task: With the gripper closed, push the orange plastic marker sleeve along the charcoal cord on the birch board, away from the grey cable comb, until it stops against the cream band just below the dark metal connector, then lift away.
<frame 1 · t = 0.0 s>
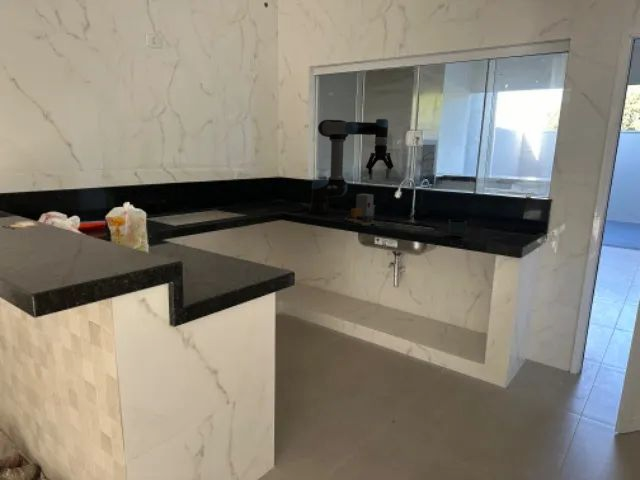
hand: (379, 179, 283), 28 cm above the countertop, tool pointing down, fingers open, 13 cm apart
supplement box: (364, 216, 315), on the countertop
flower pot: (456, 236, 256), on the countertop
cord board: (361, 222, 292), on the countertop
sleeve: (356, 213, 295), point 5 cm above the countertop, slide at -5.5 cm
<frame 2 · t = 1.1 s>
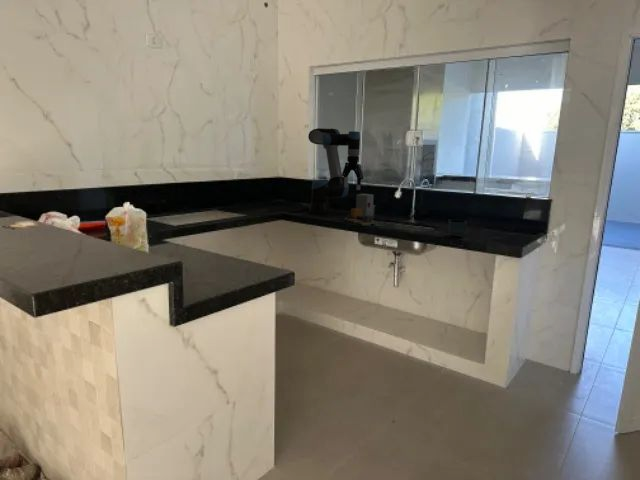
hand: (351, 188, 297), 20 cm above the countertop, tool pointing down, fingers open, 13 cm apart
nothing on the countertop moved.
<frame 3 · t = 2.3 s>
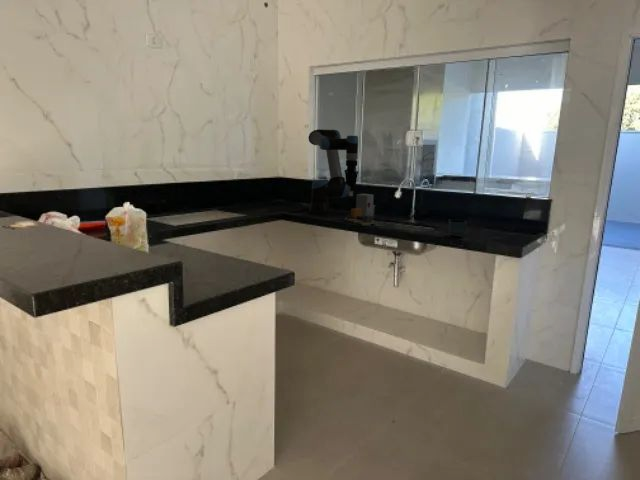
hand: (350, 195, 298), 15 cm above the countertop, tool pointing down, fingers closed
nothing on the countertop moved.
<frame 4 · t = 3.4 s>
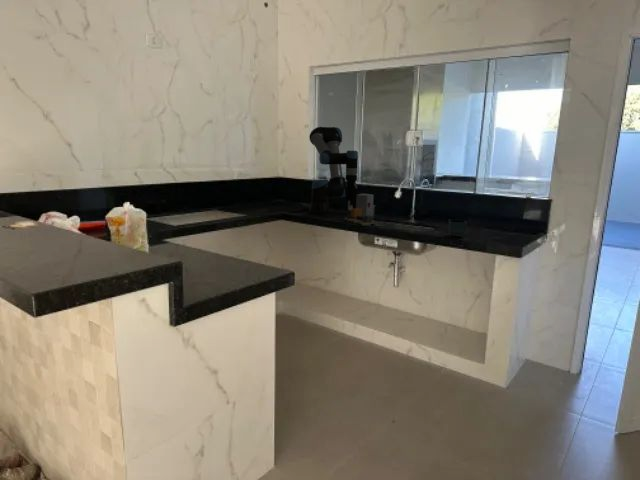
hand: (350, 210, 301), 6 cm above the countertop, tool pointing down, fingers closed
nothing on the countertop moved.
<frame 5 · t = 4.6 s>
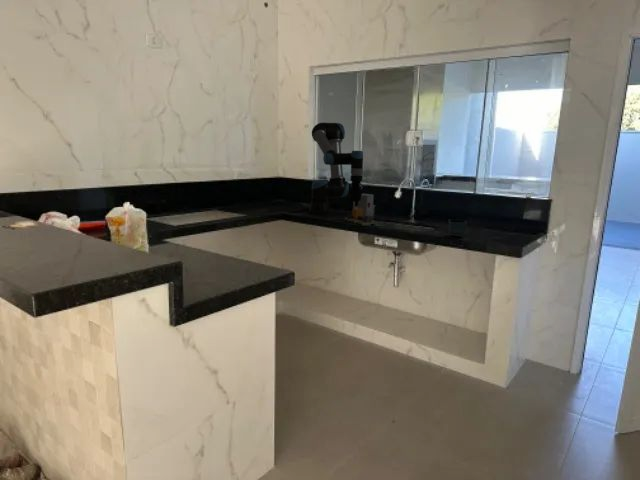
hand: (355, 211, 296), 6 cm above the countertop, tool pointing down, fingers closed
sleeve: (357, 213, 294), point 5 cm above the countertop, slide at -4.1 cm, touching gripper
everything else where it was.
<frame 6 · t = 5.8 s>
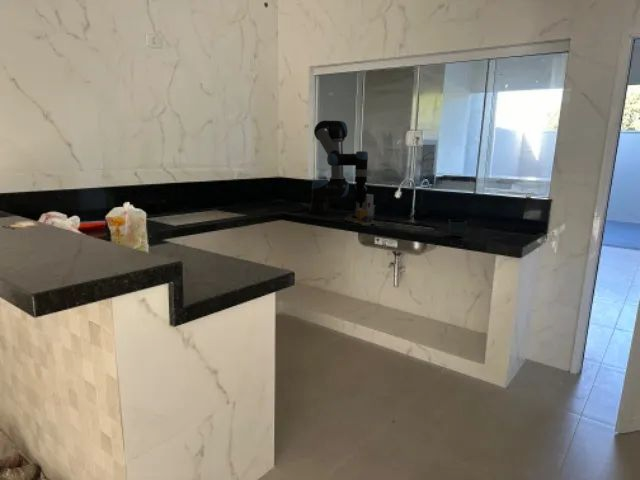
hand: (359, 212, 292), 6 cm above the countertop, tool pointing down, fingers closed
sleeve: (361, 214, 290), point 5 cm above the countertop, slide at 0.5 cm, touching gripper
everything else where it was.
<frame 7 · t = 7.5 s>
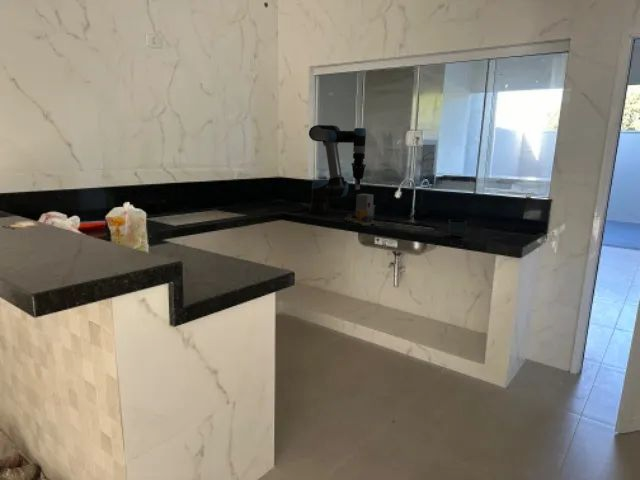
hand: (357, 189, 295), 20 cm above the countertop, tool pointing down, fingers closed
sleeve: (361, 214, 290), point 5 cm above the countertop, slide at 0.5 cm
everything else where it was.
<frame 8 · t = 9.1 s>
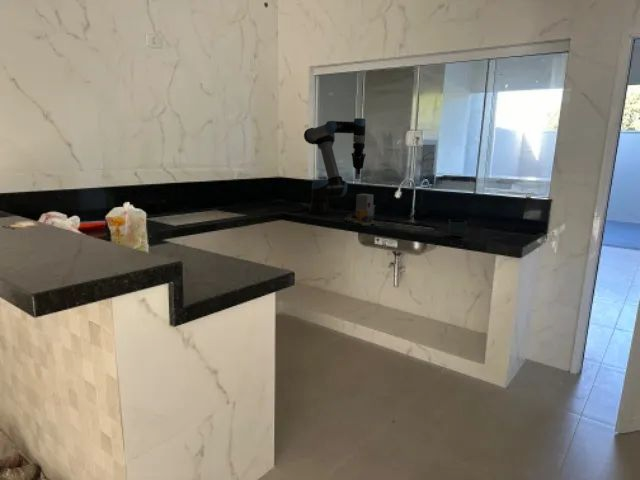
hand: (357, 178, 300), 26 cm above the countertop, tool pointing down, fingers closed
nothing on the countertop moved.
at the end: sleeve slide at 0.5 cm; supplement box moved 0.3 cm from its start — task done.
